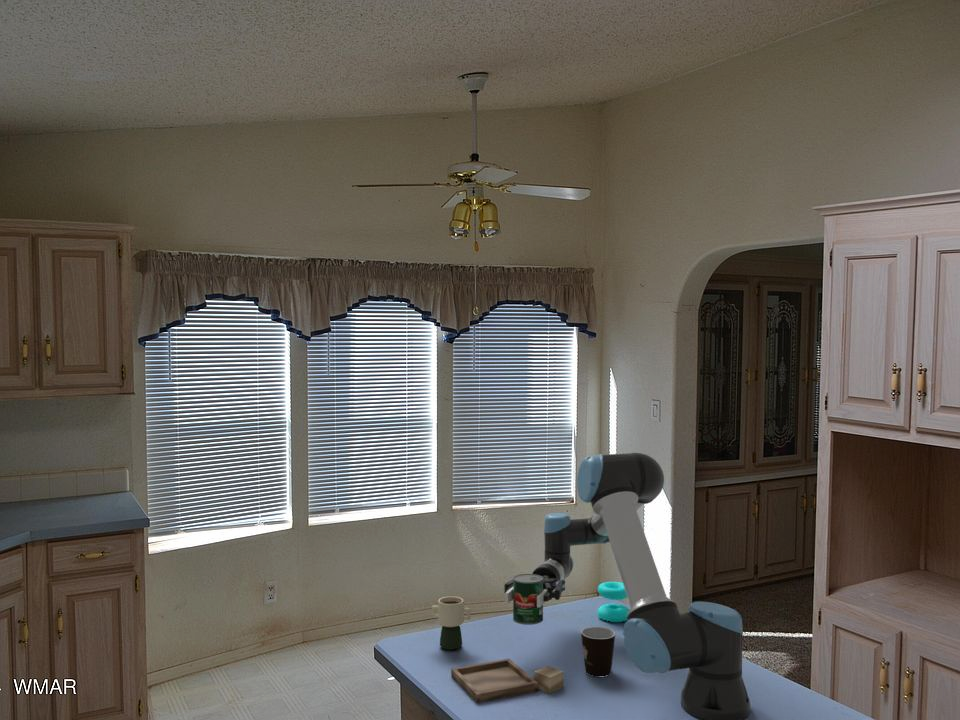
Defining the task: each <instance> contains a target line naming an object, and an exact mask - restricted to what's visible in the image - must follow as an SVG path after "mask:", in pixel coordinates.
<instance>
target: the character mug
mask: <svg viewBox="0 0 960 720" xmlns="http://www.w3.org/2000/svg"><path fill="white" fill-rule="evenodd" d="M464 603H465V600H464V599H463V598H462V597H460V596H452V595H451V596H443V597H440V598H439V599H438V601H437V605H435V604H434V605H432V606H431V617H433V618H437V621H438V624H439V625H440V626H442V627H441V631H440V637H439V646H440V647H441V648H443V649H445V650H456V649H458V648H460V647H462V646H463V636H462V629H461V626H462V624H464V620H465V621H469V620H471V608H470V607H464V605H465V604H464ZM436 610H437V611H438V612H437V613H436ZM465 612H466V615H465Z"/></svg>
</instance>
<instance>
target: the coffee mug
mask: <svg viewBox="0 0 960 720" xmlns="http://www.w3.org/2000/svg"><path fill="white" fill-rule="evenodd" d="M580 635H581V644H582V653H583V661H584V662H583V663H584V672H585V671H586V672H585V674H587V673H588V674H590V675H593V676H606V675H609V674H610V673H611V672H612V665H613V657H614V649H615V641H616V632H615V631H614V630H613V629H610V628H608V627H603V626H590V627H585V628H583V629H581V630H580ZM588 674H587V675H588ZM590 675H589V676H590ZM610 675H611V674H610ZM610 675H609V676H610ZM593 676H592V677H593ZM606 677H607V676H606Z"/></svg>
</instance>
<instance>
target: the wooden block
mask: <svg viewBox="0 0 960 720" xmlns="http://www.w3.org/2000/svg"><path fill="white" fill-rule="evenodd" d="M533 676H534V677H533V679H534V680H535V681H537V682H538V690H541V691H542V692H544V693H548V694H553V693H555V692H557V691H559V690H561V689H563V688H564V671H563V670H560V669H558V668H555V667H554V666H553V667H552V666H550V665H546V666H543V667H541V668H538V669H537V670H534V673H533ZM562 687H563V688H562ZM560 688H561V689H560ZM558 689H559V690H558ZM556 690H557V691H556ZM554 691H555V692H554Z"/></svg>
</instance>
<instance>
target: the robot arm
mask: <svg viewBox="0 0 960 720" xmlns="http://www.w3.org/2000/svg"><path fill="white" fill-rule="evenodd" d="M577 471H578V472H577V477H576V483H577V484H576V486H577V494H578V496H579V499H580V500H581V501H582V502H584V503H590V504H591V507H592V511H593V513H594V514H593V515H592V516H591V517H589V518H577V519H571V516H570V515H569V514H568V513H566V512H565V513H564V512H563V513H562V512H552V513H551V512H550V513H548V514H546V515H545V518H544V528H543V529H544V530H543V533H544V534H543V535H544V561H543V562H542V563H541V564H540V565H539V566H537V567H536V568H535V569H534V570H533V571H532V573H531V574H536V575H540V576H542V577H543V591H542V592H541V593H540V594H539V595H538V596H537V607H539V608H540V607H541V606H542V605H543V606H544V604H545V603H546V602H549V601H551V600H553V599H554V600H555V601H559V600H560V599H561V596H562V593H563V592H564V591H565V590H566V580H565V579H567V578H568V577H569V576H570V574H571V573H572V571H573V568H574V560H573V557H572V555H571V547H573V546H585V545H586V546H587V545H595V544H598V545H599V544H607V543H610V546H611V550H612V554H613V557H614V559H615V562H616V566H617V569H618V572H619V575H620V578H621V581H622V582H621V583H623V585H624V588H625V591H626V594H627V601H628V604H629V606H630V608H629V612H628V614H627V619H628V620H627V621H625V623H624V626H623V628H622V629H623V630H622V634H623V636H624V637H623V643H624V647H625V649H626V652H627V655H628V657H629V659H630V660H631V662H632V663H633V664H634V666H635V667H637V668H638V669H639V670H640V671H642V672H644V673H647V674H653V673H654V674H655V673H660V674H663V673H667V672H670V671H678V670H684V669H688V673H687V675H686V676H687V677H686V680H685V682H684V683H685V684H684V686H683V688H682V690H681V693H680V704H681V707H682V709H683V710H684V711H685V712H687V713H688V715H689V714H690V715H691V716H692V717H693V716H694V717H695V718H698V719H700V720H745V719H746V718H747V717H749V715H750V713H751V701H750V698H749V695H748V692H747V691H748V690H747V687H746V685H745V682H744V679H743V634H744V630H743V620H742V619H743V618H742V616H741V614H740V613H739V612H738V611H737V610H736V609H733V608H731V607H730V606H726V605H723V604H719V603H715V602H708V601H693V602H691V603H690V604H689V606H688V612H683V613H680V610H679V609H678V605H677V602H676V601H675V600H673V599H671V598H669V597H668V596H667V594H666V592H665V588H664V586H663V583H662V579H661V577H660V574H659V571H658V567H657V565H656V562H655V559H654V557H653V554H652V551H651V548H650V546H649V543H648V540H647V536H646V533H645V531H644V528H643V526H642V523H641V519H640V516H639V514H638V510H639V509H640V508H641V507H642V506H643V505H646V504H650V503H652V502H653V501H654V500H655V499H656V498H657V497H658V496H659V495H660V494H661V493H662V490H663V488H664V484H665V475H664V470H663V469H662V467H661V465H660V464H659V463H658V461H657V460H656V459H655V458H653V457H652V456H650V455H648V454H644V453H643V452H641V453H640V452H631V453H629V452H628V453H627V452H626V453H612V454H611V453H610V454H602V453H599V454H593V455H588V456H585V457H584V458H583V459H582V460H581V462H580V465H579V467H578V470H577ZM504 600H505V601H504V603H505V604H509V603H511V602H513V579H511V580H510V581H507V582H506V583H504Z"/></svg>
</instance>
